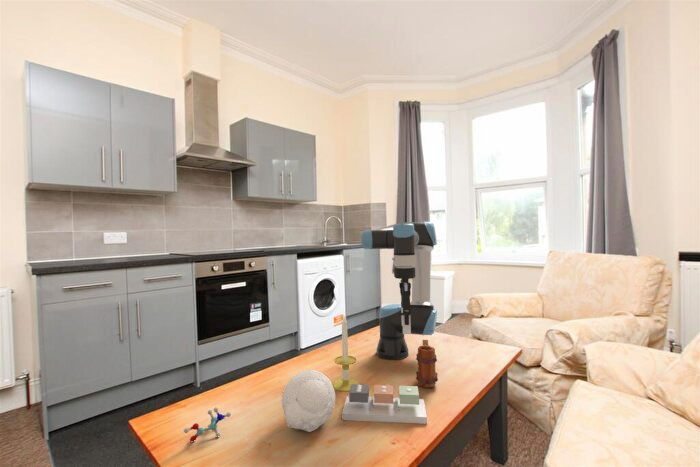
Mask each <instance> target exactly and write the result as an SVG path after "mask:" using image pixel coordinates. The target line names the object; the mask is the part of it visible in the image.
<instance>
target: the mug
mask: <svg viewBox="0 0 700 467" xmlns="http://www.w3.org/2000/svg"><path fill="white" fill-rule="evenodd" d="M415 355H416V358H415V359H416V361H417V371H415V374H416V376H415V380H416V381H418V385H419V386H420V387H422V388H428V389H429V388H433V387H435V385H436V383H437V382H438V381H439V379H438V372H436V362H437V361H438V359H437V354H436V348H434V347H433V346H431V345H429V339H422V345H420V346H418V348H417V353H416V354H415Z"/></svg>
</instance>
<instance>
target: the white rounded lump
mask: <svg viewBox="0 0 700 467" xmlns="http://www.w3.org/2000/svg"><path fill="white" fill-rule="evenodd" d="M335 391H336V390H335V389H334V388H333V383H332V382H331V379H329V378H328V377H327V376H326V375H325V374H324V373H322V372H321V371H318V370H314V369H306V370H302V371H300V372H298V373H296V374H295V375H293V376H292V377H291V378H290V379H289V380H288V381H287V382H286V384H285V386H284V387H283V391H282V395H281V405H282V409H283V414H284V416H285V421H286V425H287V427H288V428H292V429H295V430H301V431H305V432H308V433H311V432H313V431H315V430H317V429H318V428H319V427H320V426H322V425H324V424H326V422H327V421H328V420H329V418H330V417H331V416H332V414H333V412H334V409H335V405H336V392H335Z"/></svg>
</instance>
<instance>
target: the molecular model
mask: <svg viewBox="0 0 700 467" xmlns="http://www.w3.org/2000/svg"><path fill="white" fill-rule="evenodd" d="M213 412H214V413H216V415H217V416H214V415H213ZM207 414H208V415H210V418H211V419H210V423H209V424H208V425H207V427H208V428H207V427H206V428H203V427H200V426H199V423H196V422H195V423H194V424H193V425H192V426H191V427H185V428H184V429H183V432H184V434H188V433H189V431H191V430H195V431H196V433H194V435H192V436H191V437H190V438H189V441H190V442H191V441H194V440H196V441H197V438H198V437H199V436H201V435H203V434H204V432H206V431H208V430H210V431H214V433H215V437H216V436H217V437H216V438H219V437H218V436H220V437H221V432H219V430H218V429H217V428H218V423H219V422H220V421H223V420H225V418H226V417H227V418H230V416H231V415H232V414H231V412H226V414H221V413H220V412H219V408H218V407H214V408H213V410H212V409H209V410H207Z"/></svg>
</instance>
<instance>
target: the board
mask: <svg viewBox="0 0 700 467" xmlns="http://www.w3.org/2000/svg"><path fill="white" fill-rule="evenodd" d="M426 410H427V409H426V406H425V401H424V398H419V405H412V404H400V398H399V397H398V396H397V397H393V404H386V403H374V395H373V396H369V399H368V403H360V402H349V395H347V396H346V397H345V401H344V405H343V409H342V413H341V417H342V418H341V420H342V421H356V422H358V421H359V422H379V423H380V422H381V423H403V424H404V423H406V424H421V425H422V424H423V425H424V424H425V425H427V424H428V416H427V411H426Z"/></svg>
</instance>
